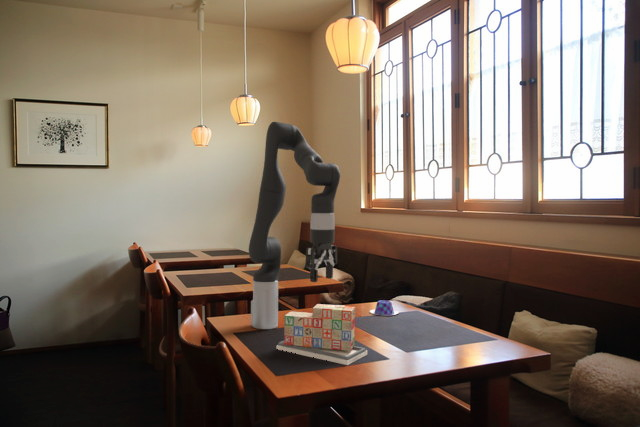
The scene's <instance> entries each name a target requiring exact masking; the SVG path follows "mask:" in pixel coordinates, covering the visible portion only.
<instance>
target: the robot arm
mask: <svg viewBox="0 0 640 427" xmlns="http://www.w3.org/2000/svg"><path fill="white" fill-rule="evenodd" d="M265 137H266V138H265V147H264V148H265V149H264V162H263V170H262V176H261V181H260V182H261V183H260V187H259V194H258V201H257V209H256V215H255V218H254V225H253V227H252V232H251V236H250V240H249V243H248V256H249V259H250V260H251V261H252V262H253V263H255V264H260V263H261V266H260V267H259V269H257V270H256V271H254V273H253V275H252V277H253V278H252V284H253V285H252V289H253V290H252V293H253V294H252V300H251V301H250V327H253V328H255V329H257V330H272V329H276V328H277V327H278V326H279V324H278V323H279V275H280V273H281V261H282V246H281V243H280V240H279V239H278V238H277V237H276V236H275V237H274V236H269V233H270V229H271V226H272V224H273V223H274V221H275V219H276V217H277V216H278V215H279V214H280V212H281V210H282V209H283V207H284V202H285V197H286V190H287V187H286V186H287V184H286V182H285V179H284V176H283V174H282V171H281V170H280V166H279V161H278V160H279V159H278V152H279V150H285V151H291V152H292V151H293V157H294V161H295V162H296V164H297V165H298V167H300V169H301V170H302V171H303V174H304V175H305V179H306V182H307V183H308V184H309V185H312V186H319V187H320V186H321V187H324V188H323V190H322V192H320V193H315V194H313V195H312V196H311V206H310V208H311V210H310V211H311V214H310V226H309V228H310V229H309V230H310V231H309V234H310V235H309V242H310V243H311V244H312V247H307V248H306V249H305V265H304V266H305V268H307V269H309V280H310V282H312V283H318V275H319V274H318V273H319V272H318V268H319V267H320V265H321V264H322V263H323V262H324V263H325V265H326V266H325V278H326V279H328V280H329V279H330V280H331V279H333V277H334V266H335V265H337V264H338V245H336V244H335V245H334V243H335V231H336V230H335V228H336V226H335V225H336V224H335V223H336V222H335V221H336V220H335V198H336V195H337V191H338V186H339V185H340V180H341V171H340V168H339V166H338V165H337V164H335V163H333V162H331V163H330V162H329V163H328V162H324V160H323V158H322V157H321V156H320V154H318V153H317V152H316V151H315V150H314V149H313V148H312V147H311V146H310V144H309V143H308V142H307V140H306V138H305V136H303V133H302V131H301V130H300V129H299V127H297V126H296V125H294V124H290V123H287V122H286V123H285V122H280V121H272V122H271V123H269V125H268V128H267V132H266V136H265Z"/></svg>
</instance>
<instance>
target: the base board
mask: <svg viewBox="0 0 640 427" xmlns="http://www.w3.org/2000/svg"><path fill="white" fill-rule="evenodd" d="M277 349H278V351H282V350H283V352H286V351H287V353H291V352H292V353H291V354H295V353H296V355H301V356H305V357H309V358H313V357H314V359H318V360H323V361H326V360H327V361H328V362H332V363H337V364H339V365H344V366H349V365H350V364H352V363H354V362H356V361H358V360H360V359H361V358H364V357H365V356H367V355H368V353H369V352H368V350H367V348H365V347H361V346H356V345H354V347H353V348H352V350H351V351H346V350H336V349H327V348H316V347H305V346H295V345H285V344H284V340H282V341H279V342H278V344H277V345H276V350H277Z"/></svg>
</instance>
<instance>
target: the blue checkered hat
mask: <svg viewBox="0 0 640 427" xmlns="http://www.w3.org/2000/svg"><path fill="white" fill-rule="evenodd" d="M369 313H370V314H373V315H377V316H382V317H383V316H385V317H386V316H387V317H389V316H396V315H397V314H399V311H398V310H395V309H394V308H393V304H392V302H391V301H390V300H378V301H377V302H376V305H375V308H374V309H370V310H369Z"/></svg>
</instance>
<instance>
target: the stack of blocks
mask: <svg viewBox="0 0 640 427" xmlns="http://www.w3.org/2000/svg"><path fill="white" fill-rule="evenodd" d="M283 318H284V320H283V322H284V323H283V324H284V327H283V328H284V330H283V331H284V336H283V338H284V340H283V341H284V344H285V345H295V346H305V347H316V348H327V349H336V350H346V351H351V350H352V348H353V347H354V346H355V339H356V338H355V333H356V306H348V305H342V304H325V303H323V304H321V303H317V304H316V305H315V306H313V307H312V312H305V311H304V312H303V311H289V312H288V313H286V314H285V315H284V317H283Z"/></svg>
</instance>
